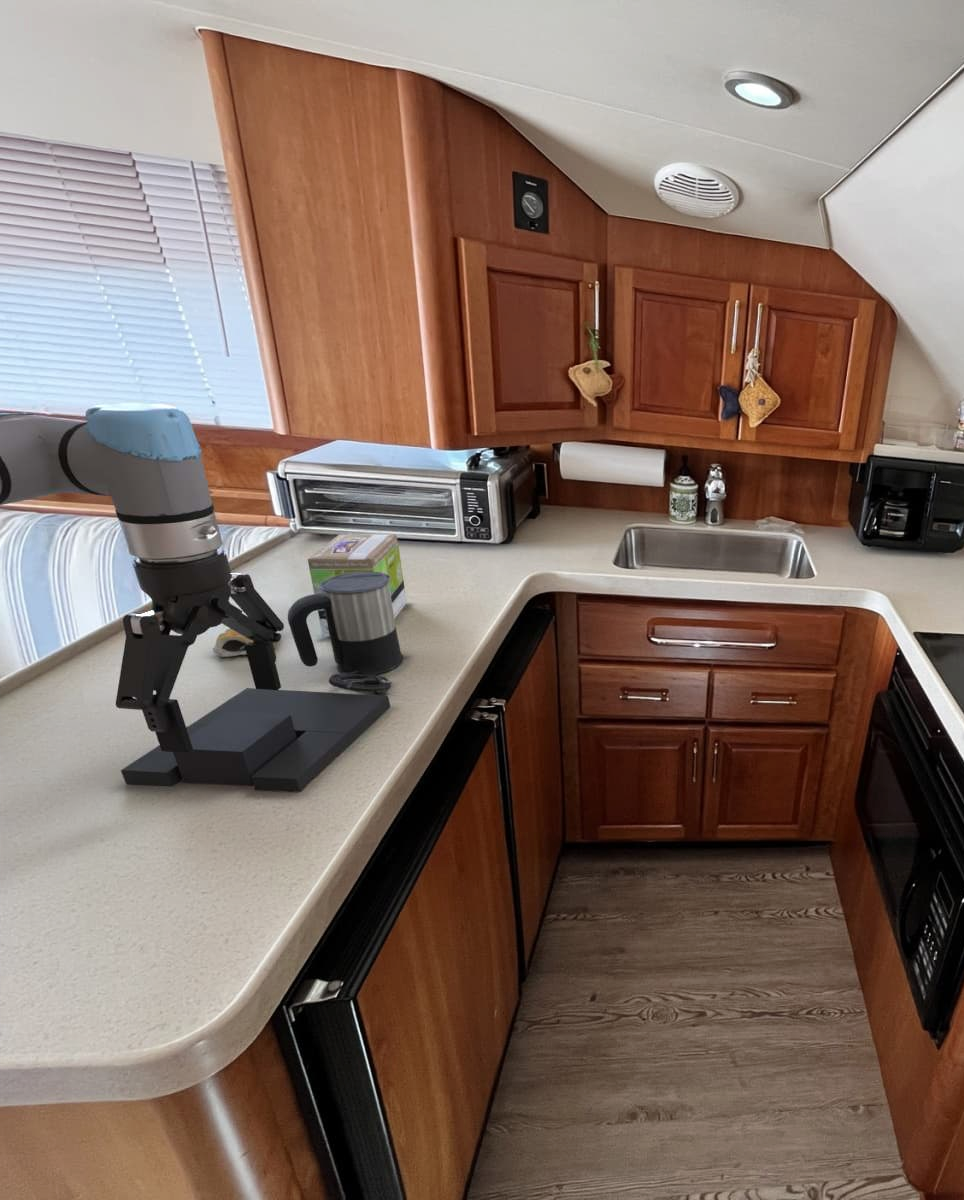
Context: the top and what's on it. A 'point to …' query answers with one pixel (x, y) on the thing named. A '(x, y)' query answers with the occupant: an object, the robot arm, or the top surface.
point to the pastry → (230, 644)
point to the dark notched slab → (320, 740)
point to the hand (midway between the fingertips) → (226, 716)
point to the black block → (235, 747)
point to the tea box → (359, 565)
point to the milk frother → (352, 629)
